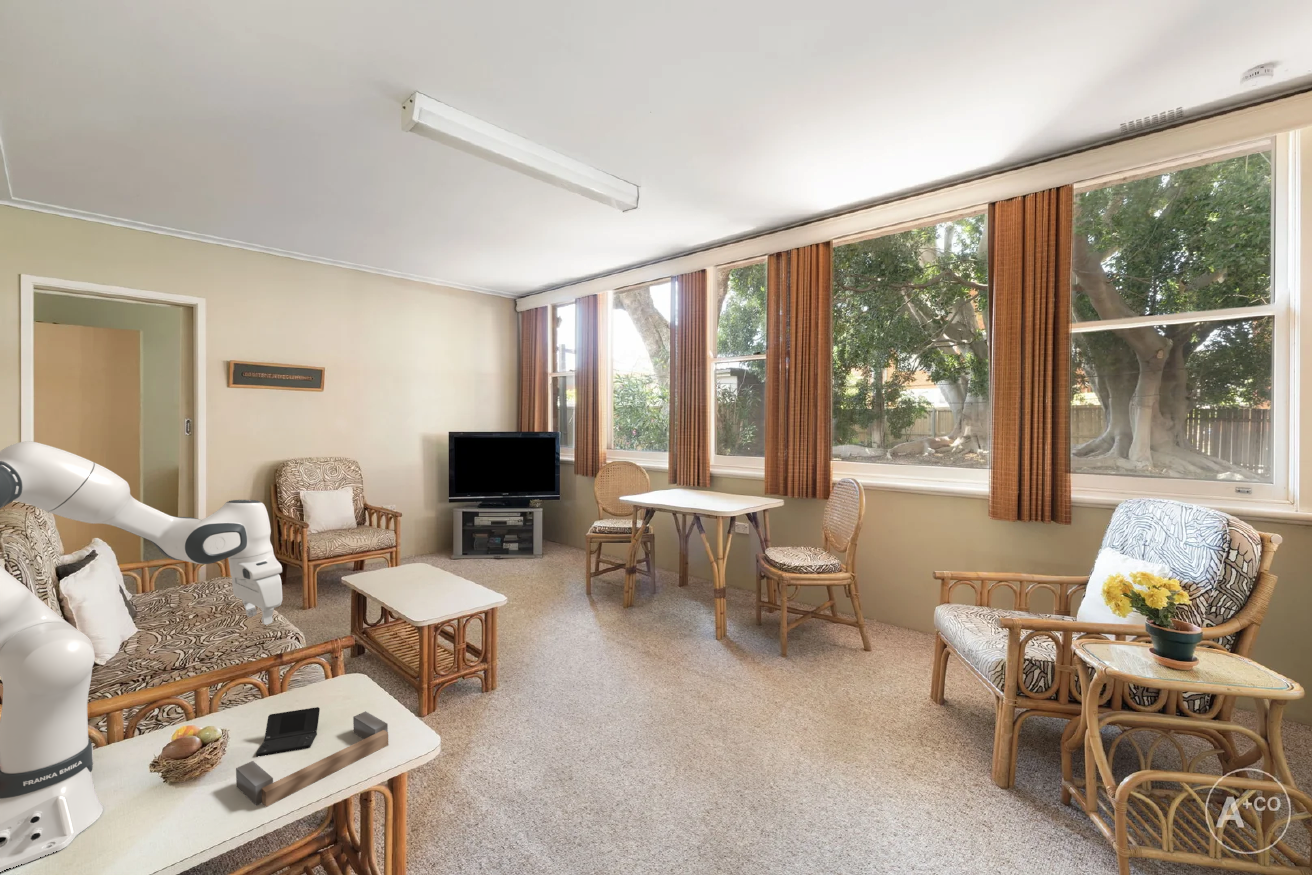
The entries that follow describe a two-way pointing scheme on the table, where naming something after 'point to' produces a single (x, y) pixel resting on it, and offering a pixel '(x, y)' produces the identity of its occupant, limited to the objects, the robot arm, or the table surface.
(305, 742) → the handheld gaming console
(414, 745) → the table surface
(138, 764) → the table surface
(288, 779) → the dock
